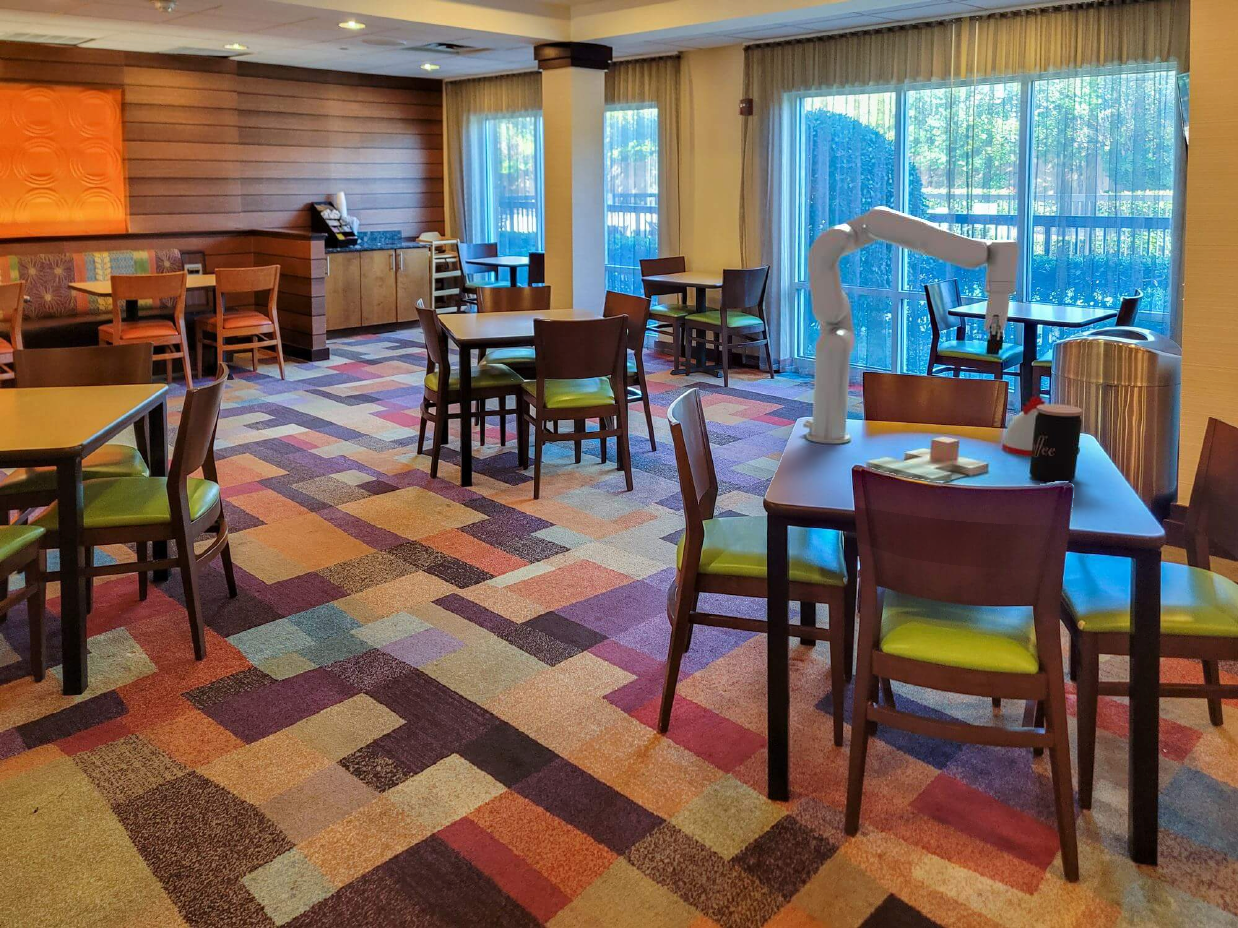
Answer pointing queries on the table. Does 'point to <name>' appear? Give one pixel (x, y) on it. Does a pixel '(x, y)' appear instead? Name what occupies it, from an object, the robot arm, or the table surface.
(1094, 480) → the table surface
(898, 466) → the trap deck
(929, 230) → the robot arm
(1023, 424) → the kitchen timer
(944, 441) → the block
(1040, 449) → the coffee jar
